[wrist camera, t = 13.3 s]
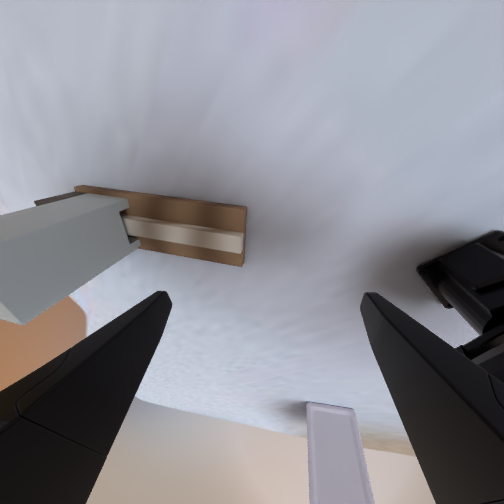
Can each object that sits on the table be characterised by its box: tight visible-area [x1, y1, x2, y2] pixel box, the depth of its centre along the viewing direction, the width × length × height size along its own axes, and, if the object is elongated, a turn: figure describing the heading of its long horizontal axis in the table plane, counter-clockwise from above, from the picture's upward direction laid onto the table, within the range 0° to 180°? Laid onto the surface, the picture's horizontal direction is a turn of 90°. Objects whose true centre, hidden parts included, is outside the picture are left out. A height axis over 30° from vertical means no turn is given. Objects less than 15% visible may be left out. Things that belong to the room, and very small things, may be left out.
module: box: [0, 193, 141, 325], centre depth 17 cm, size 5×6×12 cm
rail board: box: [34, 185, 247, 267], centre depth 20 cm, size 20×7×5 cm, turn 86°
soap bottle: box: [306, 402, 375, 504], centre depth 28 cm, size 9×7×23 cm
